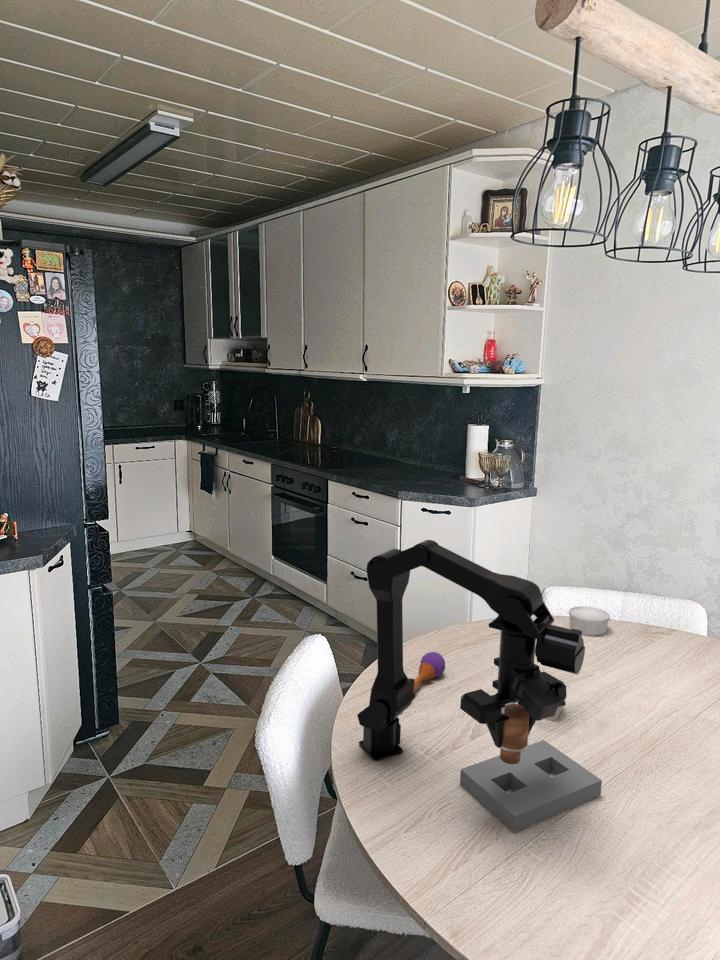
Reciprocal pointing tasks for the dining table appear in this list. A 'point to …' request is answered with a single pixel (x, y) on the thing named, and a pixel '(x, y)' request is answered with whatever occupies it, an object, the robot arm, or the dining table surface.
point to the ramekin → (589, 620)
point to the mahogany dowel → (514, 733)
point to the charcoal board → (530, 785)
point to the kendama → (430, 667)
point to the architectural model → (556, 713)
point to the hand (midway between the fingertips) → (511, 742)
